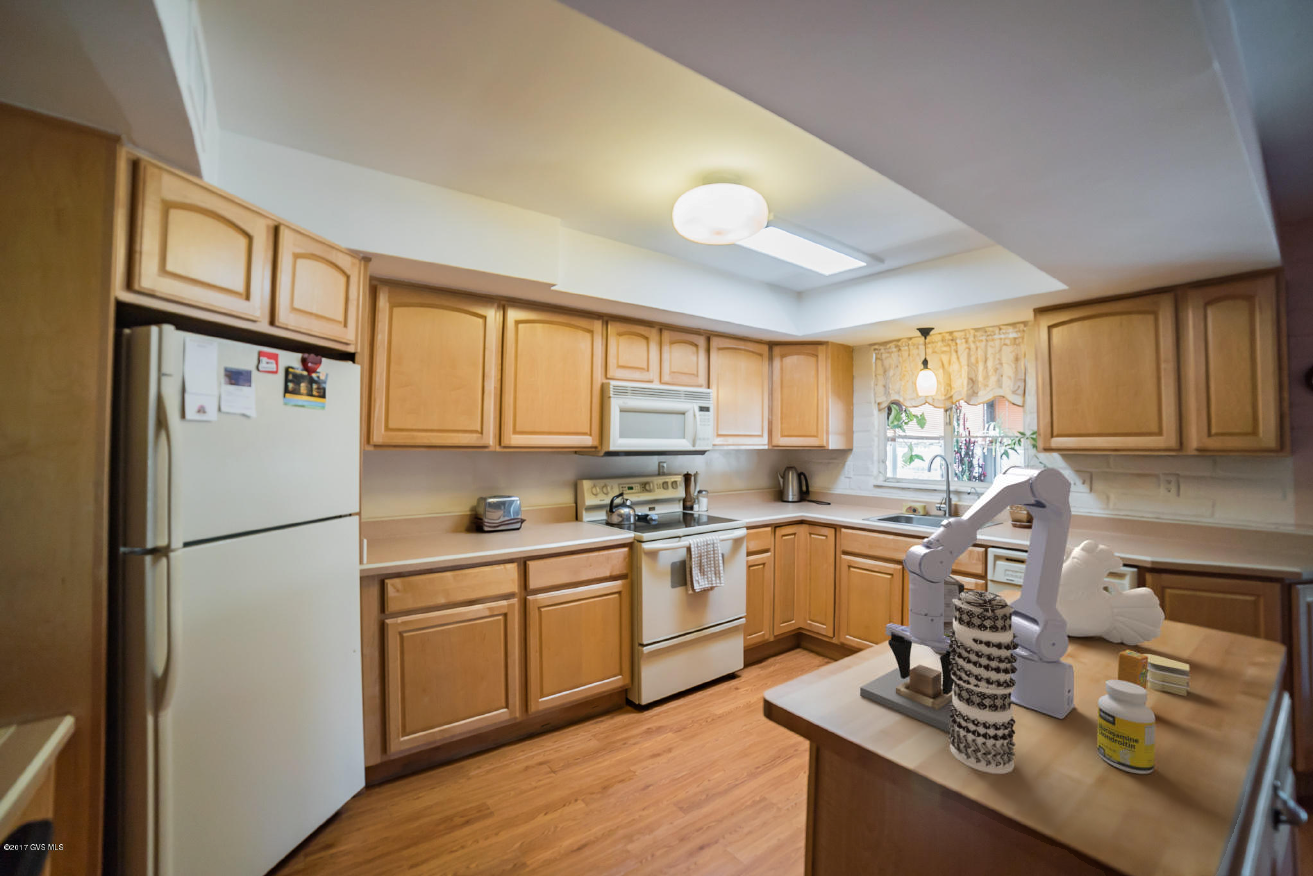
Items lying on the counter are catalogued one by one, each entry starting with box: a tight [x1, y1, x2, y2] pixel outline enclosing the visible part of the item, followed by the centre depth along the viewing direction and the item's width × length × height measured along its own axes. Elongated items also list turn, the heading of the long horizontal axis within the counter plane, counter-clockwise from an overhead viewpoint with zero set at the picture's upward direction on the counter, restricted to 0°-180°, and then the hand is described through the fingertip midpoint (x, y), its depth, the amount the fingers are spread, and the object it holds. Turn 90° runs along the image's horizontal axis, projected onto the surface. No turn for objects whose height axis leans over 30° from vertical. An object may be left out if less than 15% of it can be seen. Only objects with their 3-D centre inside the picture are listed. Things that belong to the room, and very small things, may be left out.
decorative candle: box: [948, 589, 1019, 775], centre depth 80 cm, size 9×9×25 cm
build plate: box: [859, 667, 954, 734], centre depth 97 cm, size 18×14×2 cm
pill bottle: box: [1096, 679, 1156, 775], centre depth 79 cm, size 6×6×12 cm
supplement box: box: [1117, 649, 1148, 704], centre depth 96 cm, size 3×3×10 cm
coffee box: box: [931, 575, 965, 654], centre depth 124 cm, size 9×6×16 cm
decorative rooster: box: [1056, 539, 1165, 646], centre depth 128 cm, size 25×16×25 cm
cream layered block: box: [1142, 653, 1190, 697], centre depth 104 cm, size 10×9×6 cm
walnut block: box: [909, 664, 943, 700], centre depth 97 cm, size 4×4×6 cm
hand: (925, 684), depth 97 cm, fingers open, 7 cm apart
